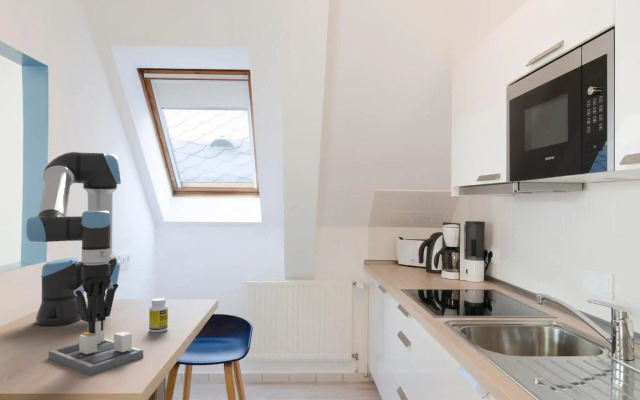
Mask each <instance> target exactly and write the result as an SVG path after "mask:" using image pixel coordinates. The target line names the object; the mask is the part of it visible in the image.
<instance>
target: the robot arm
mask: <svg viewBox="0 0 640 400" xmlns="http://www.w3.org/2000/svg"><path fill="white" fill-rule="evenodd" d="M42 178H43V179H42V180H43V181H44V185H43V191H42V195H41V200H40V204H39V209H38V213H37V215H36V216H31V217H28V219H27V221H26V229H25V231H26V238H27V240H28V241H29V242H31V243H32V242H41V243H48V242H49V243H50V242H67V241H68V242H71V241H73V242H74V241H75V242H76V241H77V242H78V241H79V242H80V241H81V261H78V258H76V257H68V258H67V257H66V258H61V259H56V260H52V261H48V262H46V263H44V264H43V266H42V267H41V275H40V277H41V303H40V305H39V308H38V311H37V314H36V316H35V324H36V325H38V326H45V327H53V326H61V325H68V324H72V323H75V322H79V321H80V320H81V321H84V322H87V333H88V332H89V333H92V334H95V335H97V344H100V343H101V331H103V326H104V321H106V320H107V318H109V317H110V315H111V311H112V307H113V304H114V297H115V293H116V291H117V289H118V287H119V284H118V281H119V277H120V276H119V275H120V268H121V267H120V266H121V259H117V255H116V254H115V253H114V252H113V195H114V194H113V193H114V192H115V191H116V190H117V188H118V185H120V184H122V180H121V173H120V165H119V159H118V156H117V155H115V154H114V153H113V154H112V153H105V152H103V153H102V152H80V151H79V152H77V151H72V152H70V151H69V152H66V153H63V154H61V155H58V156H57V157H55V158H53V159H52V160H51V161H50V162H49V163H48V164H47V165H46V166H45V169H44V171H43V174H42ZM73 184H83V186H82V188H83V190H85V192H87V210H85V211H83V212H82V215H81V216H78V215H77V216H67V213H68V212H67V211H68V206H69V205H68V204H69V197H70V189H71V186H72V185H73ZM85 293H86V298H85V295H84V294H85ZM86 299H87V301H86Z"/></svg>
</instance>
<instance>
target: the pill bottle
mask: <svg viewBox="0 0 640 400" xmlns="http://www.w3.org/2000/svg"><path fill="white" fill-rule="evenodd" d="M166 299H167V298H165V297H157V298H152V300H151V305H150V307H149V310H148V311H149V316H148V321H149V323H148V324H149V325H148V326H149V328H148V330H149V332H151V333H162V332H165V331H167V330H168V327H169V325H168V322H169V321H168V320H169V317H168V315H169V313H168V312H169V308H168V305H167V304H166V303H167V302H166Z"/></svg>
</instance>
